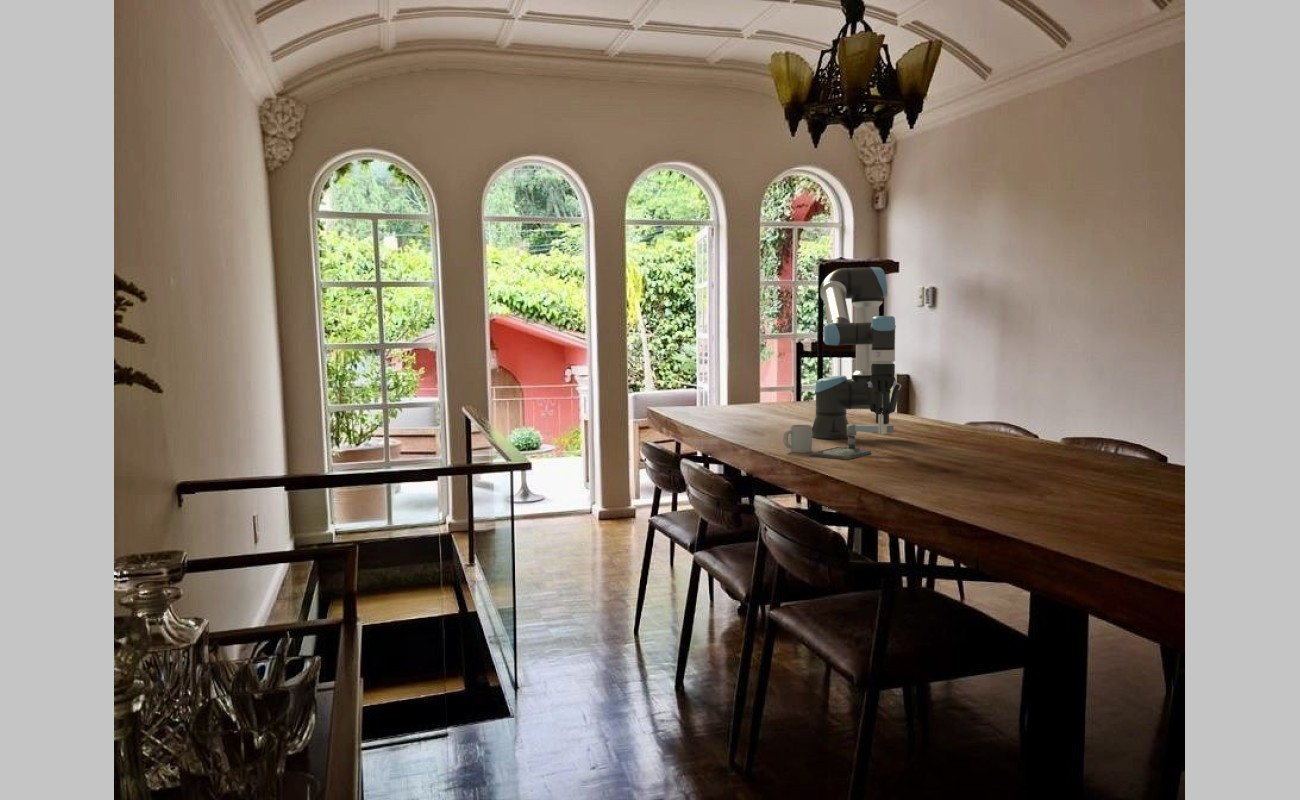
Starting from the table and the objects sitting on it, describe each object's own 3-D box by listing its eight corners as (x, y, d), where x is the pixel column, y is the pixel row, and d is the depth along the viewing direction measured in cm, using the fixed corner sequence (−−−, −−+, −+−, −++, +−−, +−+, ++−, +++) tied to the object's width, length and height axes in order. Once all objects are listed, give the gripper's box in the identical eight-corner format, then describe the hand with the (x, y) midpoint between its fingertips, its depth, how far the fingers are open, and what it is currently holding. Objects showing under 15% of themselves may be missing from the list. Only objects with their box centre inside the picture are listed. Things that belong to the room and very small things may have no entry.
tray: (837, 449, 281) (837, 434, 280) (871, 453, 272) (871, 437, 271) (811, 455, 269) (811, 439, 268) (846, 459, 260) (846, 442, 259)
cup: (814, 452, 276) (814, 426, 275) (786, 453, 275) (786, 427, 274) (808, 449, 283) (808, 424, 282) (780, 450, 282) (780, 425, 281)
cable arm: (846, 435, 273) (846, 425, 273) (847, 434, 276) (847, 423, 276) (893, 436, 268) (893, 425, 268) (893, 435, 271) (893, 424, 271)
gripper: (859, 362, 268) (858, 433, 270) (896, 363, 259) (895, 436, 261) (870, 362, 274) (870, 430, 276) (907, 362, 264) (906, 434, 266)
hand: (882, 433), depth 268 cm, fingers closed
